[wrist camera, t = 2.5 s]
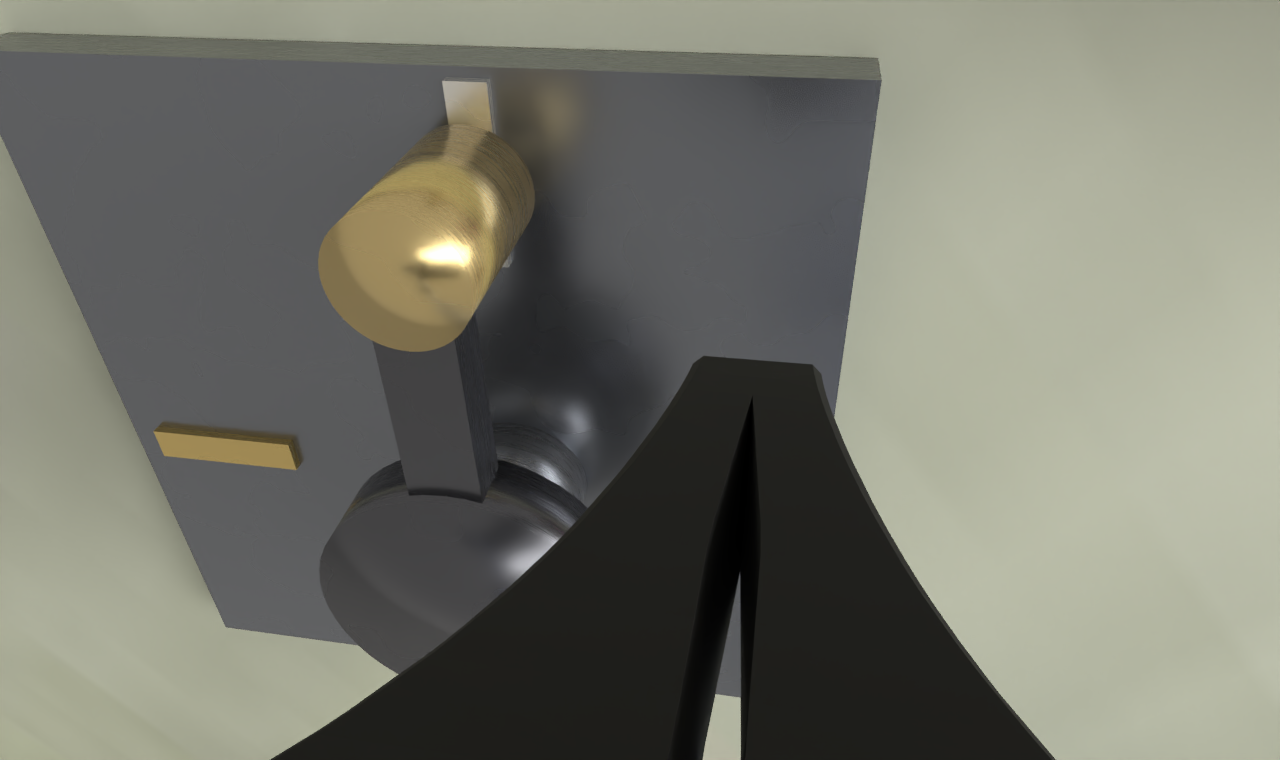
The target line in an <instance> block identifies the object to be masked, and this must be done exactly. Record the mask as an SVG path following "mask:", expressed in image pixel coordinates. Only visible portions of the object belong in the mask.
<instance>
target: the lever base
mask: <svg viewBox="0 0 1280 760" xmlns="http://www.w3.org/2000/svg"><path fill="white" fill-rule="evenodd" d="M880 87H881V74H880V68H879V61H878V58H848V57H814V56H780V55H747V54H713V53H679V52H645V51H611V50H578V49H544V48H510V47H476V46H442V45H408V44H375V43H341V42H307V41H273V40H239V39H206V38H172V37H138V36H104V35H70V34H36V33H6V34H3V35H1V36H0V134H1V137H2V139H3V141H4V143H5V145H6V148H7V150H8V152H9V154H10V156H11V158H12V161H13V163H14V165H15V167H16V169H17V172H18V174H19V176H20V178H21V180H22V183H23V185H24V187H25V189H26V191H27V193H28V196H29V198H30V200H31V202H32V204H33V207H34V209H35V211H36V213H37V215H38V217H39V220H40V222H41V224H42V226H43V228H44V231H45V233H46V235H47V237H48V239H49V242H50V244H51V246H52V248H53V250H54V252H55V255H56V257H57V259H58V261H59V263H60V266H61V268H62V270H63V272H64V274H65V277H66V279H67V281H68V283H69V285H70V287H71V290H72V292H73V294H74V296H75V298H76V301H77V303H78V305H79V307H80V309H81V311H82V314H83V316H84V318H85V320H86V322H87V325H88V327H89V329H90V331H91V333H92V336H93V338H94V340H95V342H96V344H97V346H98V349H99V351H100V353H101V355H102V357H103V360H104V362H105V364H106V366H107V368H108V371H109V373H110V375H111V377H112V379H113V381H114V384H115V386H116V388H117V390H118V392H119V395H120V397H121V399H122V401H123V403H124V405H125V408H126V410H127V412H128V414H129V416H130V419H131V421H132V423H133V425H134V427H135V430H136V432H137V434H138V436H139V438H140V440H141V443H142V445H143V447H144V449H145V451H146V454H147V456H148V458H149V460H150V462H151V465H152V467H153V469H154V471H155V473H156V475H157V478H158V480H159V482H160V484H161V486H162V489H163V491H164V493H165V495H166V497H167V500H168V502H169V504H170V506H171V508H172V510H173V513H174V515H175V517H176V519H177V521H178V524H179V526H180V528H181V530H182V532H183V534H184V537H185V539H186V541H187V543H188V545H189V548H190V550H191V552H192V554H193V556H194V559H195V561H196V563H197V565H198V567H199V569H200V572H201V574H202V576H203V578H204V580H205V583H206V585H207V587H208V589H209V591H210V594H211V596H212V598H213V600H214V602H215V604H216V607H217V609H218V611H219V613H220V615H221V618H222V620H223V622H224V624H225V626H226V627H228V628H236V629H243V630H250V631H258V632H265V633H272V634H280V635H287V636H294V637H302V638H309V639H316V640H324V641H331V642H338V643H346V644H353V645H357V644H356V643H355V641H354V640H353V639H352V638H351V637H350V636H349V635H348V634H347V633H346V632H345V631H344V630H343V628H342V627H341V626H340V624H339V623H338V622H337V621H336V619H335V617H334V616H333V614H332V612H331V611H330V609H329V607H328V605H327V603H326V600H325V598H324V596H323V592H322V588H321V584H320V575H319V567H320V559H321V555H322V553H323V550H324V547H325V545H326V543H327V542H328V540H329V539H330V537H331V535H332V534H333V532H334V530H335V529H336V527H337V526H338V524H339V522H340V521H341V519H342V517H343V516H344V514H345V513H346V511H347V509H348V508H349V506H350V504H351V503H352V501H353V500H354V498H355V496H356V495H357V493H358V492H359V490H360V488H361V487H362V485H363V484H364V483H365V482H366V481H367V480H368V479H369V478H370V477H371V476H372V475H374V474H375V473H377V472H378V471H379V470H381V469H382V468H384V467H386V466H388V465H390V464H392V463H394V462H396V461H399V460H400V456H399V451H398V447H397V443H396V439H395V434H394V430H393V426H392V422H391V417H390V413H389V409H388V405H387V401H386V396H385V392H384V388H383V384H382V379H381V375H380V371H379V367H378V362H377V358H376V354H375V350H374V345H373V341H372V340H370V339H369V338H367V337H365V336H364V335H362V334H361V333H359V332H358V331H356V330H355V329H354V328H353V327H351V326H350V325H349V324H348V323H347V322H346V321H345V320H344V319H343V318H342V317H341V316H340V315H339V314H338V312H337V311H336V310H335V308H334V307H333V306H332V304H331V302H330V301H329V299H328V297H327V295H326V293H325V291H324V289H323V286H322V283H321V280H320V275H319V269H318V258H319V251H320V247H321V244H322V242H323V240H324V237H325V236H326V234H327V233H328V231H329V230H330V229H331V228H332V227H333V226H334V225H335V224H336V223H337V222H338V221H339V220H340V219H341V218H342V217H343V216H344V215H345V214H346V213H347V212H348V211H349V210H350V209H351V208H352V207H353V206H354V205H355V204H356V203H357V202H358V201H359V200H360V199H361V198H362V197H363V196H364V195H365V194H366V193H367V192H368V191H369V190H370V189H371V188H372V187H373V186H374V185H375V184H376V183H377V182H378V181H379V180H380V179H381V178H382V177H383V176H384V175H385V174H386V173H387V172H388V171H389V170H390V169H391V168H392V167H393V166H394V165H395V164H396V163H397V162H398V161H399V160H400V159H401V158H402V157H403V156H404V155H405V154H406V153H407V152H408V151H409V150H410V149H411V148H412V147H413V146H414V145H415V144H416V143H417V142H418V141H419V140H420V139H421V138H422V137H423V136H424V135H426V134H427V133H428V132H430V131H432V130H434V129H436V128H438V127H441V126H445V125H451V124H466V125H473V126H477V127H480V128H483V129H485V130H488V131H490V132H492V133H494V134H496V135H497V136H499V137H500V138H502V139H503V140H504V141H506V142H507V143H508V144H509V145H510V146H511V147H512V148H513V149H514V150H515V151H516V152H517V153H518V154H519V156H520V157H521V158H522V160H523V161H524V163H525V165H526V166H527V168H528V170H529V173H530V175H531V178H532V181H533V185H534V191H535V204H534V210H533V214H532V217H531V219H530V222H529V223H528V225H527V227H526V228H525V230H524V232H523V233H522V235H521V237H520V238H519V240H518V242H517V243H516V245H515V246H514V248H513V250H512V251H511V253H510V255H509V256H508V258H507V260H506V261H505V263H504V265H503V266H502V268H501V269H500V271H499V273H498V274H497V276H496V278H495V279H494V281H493V283H492V284H491V286H490V288H489V289H488V291H487V293H486V294H485V296H484V297H483V299H482V301H481V302H480V304H479V306H478V307H477V309H476V311H475V313H476V319H477V326H478V332H479V339H480V346H481V352H482V359H483V366H484V372H485V379H486V386H487V392H488V399H489V406H490V412H491V419H492V425H493V432H494V439H495V445H496V452H497V459H499V460H503V461H507V462H510V463H512V464H515V465H518V466H521V467H524V468H526V469H528V470H531V471H533V472H535V473H537V474H539V475H541V476H544V477H545V478H547V479H549V480H550V481H552V482H554V483H556V484H557V485H559V486H561V487H562V488H564V489H565V490H566V491H568V492H569V493H571V494H572V495H573V496H575V497H576V498H577V499H578V500H580V501H581V502H582V503H583V504H584V505H585V506H586V507H587V508H588V507H589V506H590V505H591V504H592V503H593V502H594V501H595V500H596V498H597V497H598V496H599V495H600V494H601V493H602V492H603V490H604V489H605V488H606V487H607V486H608V485H609V484H610V482H611V481H612V480H613V479H614V478H615V477H616V475H617V474H618V473H619V472H620V471H621V469H622V468H623V467H624V466H625V464H626V463H627V462H628V460H629V459H630V458H631V457H632V455H633V454H634V453H635V451H636V450H637V449H638V447H639V446H640V445H641V443H642V442H643V441H644V439H645V438H646V437H647V435H648V434H649V433H650V431H651V430H652V429H653V428H654V426H655V425H656V423H657V422H658V420H659V419H660V417H661V416H662V415H663V413H664V412H665V410H666V409H667V407H668V406H669V404H670V403H671V401H672V400H673V398H674V397H675V395H676V393H677V392H678V390H679V388H680V387H681V385H682V383H683V382H684V380H685V378H686V376H687V375H688V373H689V371H690V369H691V367H692V365H693V363H694V362H696V361H697V360H698V359H700V358H701V357H702V356H713V357H726V358H738V359H751V360H763V361H776V362H789V363H801V364H813V365H814V366H815V368H816V369H817V370H818V371H819V372H820V373H821V374H822V380H823V384H824V388H825V392H826V395H827V399H828V402H829V405H830V408H831V411H832V413H833V416H834V414H835V407H836V400H837V393H838V386H839V379H840V372H841V364H842V357H843V350H844V343H845V336H846V329H847V322H848V315H849V308H850V300H851V293H852V286H853V279H854V272H855V265H856V258H857V251H858V243H859V236H860V229H861V222H862V215H863V208H864V201H865V194H866V187H867V179H868V172H869V165H870V158H871V151H872V144H873V137H874V130H875V122H876V115H877V108H878V101H879V94H880ZM715 694H720V695H727V696H734V697H741V639H740V575H739V580H738V585H737V590H736V595H735V600H734V605H733V610H732V615H731V620H730V624H729V629H728V634H727V639H726V644H725V649H724V654H723V659H722V663H721V668H720V673H719V678H718V683H717V688H716V693H715Z"/></svg>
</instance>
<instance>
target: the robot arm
mask: <svg viewBox="0 0 1280 760" xmlns="http://www.w3.org/2000/svg"><path fill="white" fill-rule="evenodd" d="M739 575H740V639H741V760H1055V758H1054V757H1053V756H1052V755H1051V754H1050V753H1049V751H1048V750H1047V749H1046V748H1045V747H1044V745H1043V744H1042V743H1041V742H1040V741H1039V740H1038V738H1037V737H1036V736H1035V735H1034V734H1033V733H1032V731H1031V730H1030V729H1029V728H1028V727H1027V726H1026V724H1025V723H1024V722H1023V721H1022V720H1021V719H1020V717H1019V716H1018V715H1017V714H1016V713H1015V711H1014V710H1013V709H1012V708H1011V707H1010V706H1009V704H1008V703H1007V702H1006V701H1005V700H1004V699H1003V697H1002V696H1001V695H1000V694H999V693H998V691H997V690H996V689H995V688H994V686H993V685H992V684H991V682H990V681H989V680H988V678H987V677H986V676H985V674H984V673H983V672H982V670H981V669H980V668H979V666H978V665H977V664H976V662H975V661H974V660H973V659H972V657H971V656H970V655H969V653H968V652H967V651H966V649H965V648H964V647H963V645H962V644H961V643H960V641H959V640H958V639H957V637H956V636H955V634H954V633H953V631H952V630H951V629H950V627H949V626H948V624H947V623H946V621H945V620H944V619H943V617H942V616H941V614H940V613H939V611H938V610H937V609H936V607H935V606H934V604H933V603H932V601H931V600H930V598H929V597H928V595H927V594H926V592H925V591H924V589H923V588H922V586H921V585H920V583H919V581H918V580H917V578H916V577H915V575H914V573H913V572H912V570H911V569H910V567H909V565H908V564H907V562H906V561H905V559H904V557H903V555H902V554H901V552H900V550H899V549H898V547H897V545H896V543H895V542H894V540H893V538H892V537H891V535H890V533H889V532H888V530H887V528H886V526H885V524H884V523H883V521H882V519H881V517H880V515H879V513H878V512H877V510H876V508H875V506H874V504H873V502H872V500H871V498H870V496H869V494H868V492H867V490H866V488H865V486H864V484H863V482H862V480H861V478H860V476H859V474H858V472H857V470H856V468H855V466H854V464H853V462H852V459H851V457H850V455H849V453H848V451H847V448H846V446H845V444H844V441H843V439H842V436H841V434H840V431H839V429H838V426H837V424H836V421H835V419H834V416H833V413H832V411H831V408H830V405H829V402H828V399H827V395H826V392H825V388H824V384H823V380H822V374H821V373H820V372H819V371H818V370H817V369H816V368H815V366H814V365H813V364H801V363H789V362H776V361H763V360H751V359H738V358H726V357H713V356H702V357H701V358H700V359H698V360H697V361H696V362H694V363H693V365H692V367H691V369H690V371H689V373H688V375H687V376H686V378H685V380H684V382H683V383H682V385H681V387H680V388H679V390H678V392H677V393H676V395H675V397H674V398H673V400H672V401H671V403H670V404H669V406H668V407H667V409H666V410H665V412H664V413H663V415H662V416H661V417H660V419H659V420H658V422H657V423H656V425H655V426H654V428H653V429H652V430H651V431H650V433H649V434H648V435H647V437H646V438H645V439H644V441H643V442H642V443H641V445H640V446H639V447H638V449H637V450H636V451H635V453H634V454H633V455H632V457H631V458H630V459H629V460H628V462H627V463H626V464H625V466H624V467H623V468H622V469H621V471H620V472H619V473H618V474H617V475H616V477H615V478H614V479H613V480H612V481H611V482H610V484H609V485H608V486H607V487H606V488H605V489H604V490H603V492H602V493H601V494H600V495H599V496H598V497H597V498H596V500H595V501H594V502H593V503H592V504H591V505H590V506H589V507H588V509H587V510H586V511H585V512H584V513H583V514H582V515H581V517H580V518H579V519H578V520H577V521H576V522H575V523H574V524H573V525H572V526H571V527H570V528H569V529H568V530H567V532H566V533H565V534H564V535H563V536H562V537H561V538H560V539H559V540H558V541H557V542H556V543H555V544H554V545H553V546H552V547H551V548H550V549H549V550H548V551H547V552H546V553H545V554H544V555H543V556H542V557H541V558H540V559H539V560H537V561H536V562H535V563H534V564H533V565H532V566H531V567H530V568H529V569H528V570H527V571H526V572H525V573H524V574H523V575H522V576H520V577H519V578H518V579H517V580H516V581H515V582H514V583H513V584H512V585H511V586H510V587H508V588H507V589H506V590H505V591H504V592H503V593H501V594H500V595H499V596H498V597H497V598H495V599H494V600H493V601H492V602H491V603H490V604H488V605H487V606H486V607H485V608H484V609H483V610H481V611H480V612H479V613H478V614H477V615H476V616H474V617H473V618H472V619H471V620H470V621H469V622H467V623H466V624H465V625H464V626H463V627H461V628H460V629H459V630H458V631H456V632H455V633H454V634H453V635H451V636H450V637H449V638H448V639H446V640H445V641H444V642H442V643H441V644H440V645H439V646H437V647H436V648H435V649H433V650H432V651H431V652H430V653H428V654H427V655H425V656H424V657H423V658H421V659H420V660H418V661H417V662H416V663H414V664H413V665H411V666H410V667H409V668H407V669H406V670H404V671H403V672H402V673H400V674H399V675H397V676H396V677H395V678H393V679H392V680H390V681H389V682H388V683H386V684H385V685H383V686H382V687H381V688H379V689H378V690H376V691H375V692H374V693H372V694H371V695H369V696H368V697H367V698H365V699H364V700H362V701H361V702H360V703H358V704H357V705H355V706H354V707H353V708H351V709H350V710H348V711H347V712H345V713H344V714H342V715H341V716H339V717H338V718H336V719H335V720H333V721H332V722H330V723H329V724H327V725H326V726H324V727H323V728H321V729H320V730H318V731H317V732H315V733H313V734H312V735H310V736H308V737H307V738H305V739H303V740H302V741H300V742H298V743H297V744H295V745H294V746H292V747H290V748H289V749H287V750H285V751H284V752H282V753H280V754H279V755H277V756H276V757H274V758H272V759H271V760H702V759H703V752H704V746H705V741H706V737H707V732H708V727H709V722H710V717H711V712H712V707H713V702H714V698H715V693H716V688H717V683H718V678H719V673H720V668H721V663H722V659H723V654H724V649H725V644H726V639H727V634H728V629H729V624H730V620H731V615H732V610H733V605H734V600H735V595H736V590H737V585H738V580H739Z"/></svg>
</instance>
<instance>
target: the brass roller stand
mask: <svg viewBox="0 0 1280 760" xmlns="http://www.w3.org/2000/svg"><path fill="white" fill-rule="evenodd" d="M534 204H535V191H534V185H533V181H532V178H531V175H530V173H529V170H528V168H527V166H526V165H525V163H524V161H523V160H522V158H521V157H520V156H519V154H518V153H517V152H516V151H515V150H514V149H513V148H512V147H511V146H510V145H509V144H508V143H507V142H506V141H504V140H503V139H502V138H500V137H499V136H497V135H496V134H494V133H492V132H490V131H488V130H485V129H483V128H480V127H477V126H473V125H466V124H451V125H445V126H441V127H438V128H436V129H434V130H432V131H430V132H428V133H427V134H426V135H424V136H423V137H422V138H421V139H420V140H419V141H418V142H417V143H416V144H415V145H414V146H413V147H412V148H411V149H410V150H409V151H408V152H407V153H406V154H405V155H404V156H403V157H402V158H401V159H400V160H399V161H398V162H397V163H396V164H395V165H394V166H393V167H392V168H391V169H390V170H389V171H388V172H387V173H386V174H385V175H384V176H383V177H382V178H381V179H380V180H379V181H378V182H377V183H376V184H375V185H374V186H373V187H372V188H371V189H370V190H369V191H368V192H367V193H366V194H365V195H364V196H363V197H362V198H361V199H360V200H359V201H358V202H357V203H356V204H355V205H354V206H353V207H352V208H351V209H350V210H349V211H348V212H347V213H346V214H345V215H344V216H343V217H342V218H341V219H340V220H339V221H338V222H337V223H336V224H335V225H334V226H333V227H332V228H331V229H330V230H329V231H328V233H327V234H326V236H325V237H324V240H323V242H322V244H321V247H320V251H319V258H318V269H319V275H320V280H321V283H322V286H323V289H324V291H325V293H326V295H327V297H328V299H329V301H330V302H331V304H332V306H333V307H334V308H335V310H336V311H337V312H338V314H339V315H340V316H341V317H342V318H343V319H344V320H345V321H346V322H347V323H348V324H349V325H350V326H351V327H353V328H354V329H355V330H356V331H358V332H359V333H361V334H362V335H364V336H365V337H367V338H369V339H370V340H372V341H373V345H374V350H375V354H376V358H377V362H378V367H379V371H380V375H381V379H382V384H383V388H384V392H385V396H386V401H387V405H388V409H389V413H390V417H391V422H392V426H393V430H394V434H395V439H396V443H397V447H398V451H399V456H400V460H399V461H396V462H394V463H392V464H390V465H388V466H386V467H384V468H382V469H381V470H379V471H378V472H377V473H375V474H374V475H372V476H371V477H370V478H369V479H368V480H367V481H366V482H365V483H364V484H363V485H362V487H361V488H360V490H359V492H358V493H357V495H356V496H355V498H354V500H353V501H352V503H351V504H350V506H349V508H348V509H347V511H346V513H345V514H344V516H343V517H342V519H341V521H340V522H339V524H338V526H337V527H336V529H335V530H334V532H333V534H332V535H331V537H330V539H329V540H328V542H327V543H326V545H325V547H324V550H323V553H322V555H321V559H320V567H319V575H320V584H321V588H322V592H323V596H324V598H325V600H326V603H327V605H328V607H329V609H330V611H331V612H332V614H333V616H334V617H335V619H336V621H337V622H338V623H339V624H340V626H341V627H342V628H343V630H344V631H345V632H346V633H347V634H348V635H349V636H350V637H351V638H352V639H353V640H354V641H355V643H356V644H357V645H359V646H360V647H361V648H362V649H363V650H364V651H366V652H367V653H368V654H369V655H370V656H372V657H373V658H375V659H376V660H377V661H379V662H380V663H381V664H383V665H384V666H386V667H388V668H389V669H391V670H393V671H394V672H396V673H398V674H400V673H402V672H403V671H404V670H406V669H407V668H409V667H410V666H411V665H413V664H414V663H416V662H417V661H418V660H420V659H421V658H423V657H424V656H425V655H427V654H428V653H430V652H431V651H432V650H433V649H435V648H436V647H437V646H439V645H440V644H441V643H442V642H444V641H445V640H446V639H448V638H449V637H450V636H451V635H453V634H454V633H455V632H456V631H458V630H459V629H460V628H461V627H463V626H464V625H465V624H466V623H467V622H469V621H470V620H471V619H472V618H473V617H474V616H476V615H477V614H478V613H479V612H480V611H481V610H483V609H484V608H485V607H486V606H487V605H488V604H490V603H491V602H492V601H493V600H494V599H495V598H497V597H498V596H499V595H500V594H501V593H503V592H504V591H505V590H506V589H507V588H508V587H510V586H511V585H512V584H513V583H514V582H515V581H516V580H517V579H518V578H519V577H520V576H522V575H523V574H524V573H525V572H526V571H527V570H528V569H529V568H530V567H531V566H532V565H533V564H534V563H535V562H536V561H537V560H539V559H540V558H541V557H542V556H543V555H544V554H545V553H546V552H547V551H548V550H549V549H550V548H551V547H552V546H553V545H554V544H555V543H556V542H557V541H558V540H559V539H560V538H561V537H562V536H563V535H564V534H565V533H566V532H567V530H568V529H569V528H570V527H571V526H572V525H573V524H574V523H575V522H576V521H577V520H578V519H579V518H580V517H581V515H582V514H583V513H584V512H585V511H586V510H587V509H588V508H587V507H586V506H585V505H584V504H583V503H582V502H581V501H580V500H578V499H577V498H576V497H575V496H573V495H572V494H571V493H569V492H568V491H566V490H565V489H564V488H562V487H561V486H559V485H557V484H556V483H554V482H552V481H550V480H549V479H547V478H545V477H544V476H541V475H539V474H537V473H535V472H533V471H531V470H528V469H526V468H524V467H521V466H518V465H515V464H512V463H510V462H507V461H503V460H499V459H497V452H496V445H495V439H494V432H493V425H492V419H491V412H490V406H489V399H488V392H487V386H486V379H485V372H484V366H483V359H482V352H481V346H480V339H479V332H478V326H477V319H476V313H475V311H476V309H477V307H478V306H479V304H480V302H481V301H482V299H483V297H484V296H485V294H486V293H487V291H488V289H489V288H490V286H491V284H492V283H493V281H494V279H495V278H496V276H497V274H498V273H499V271H500V269H501V268H502V266H503V265H504V263H505V261H506V260H507V258H508V256H509V255H510V253H511V251H512V250H513V248H514V246H515V245H516V243H517V242H518V240H519V238H520V237H521V235H522V233H523V232H524V230H525V228H526V227H527V225H528V223H529V222H530V219H531V217H532V214H533V210H534Z"/></svg>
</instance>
